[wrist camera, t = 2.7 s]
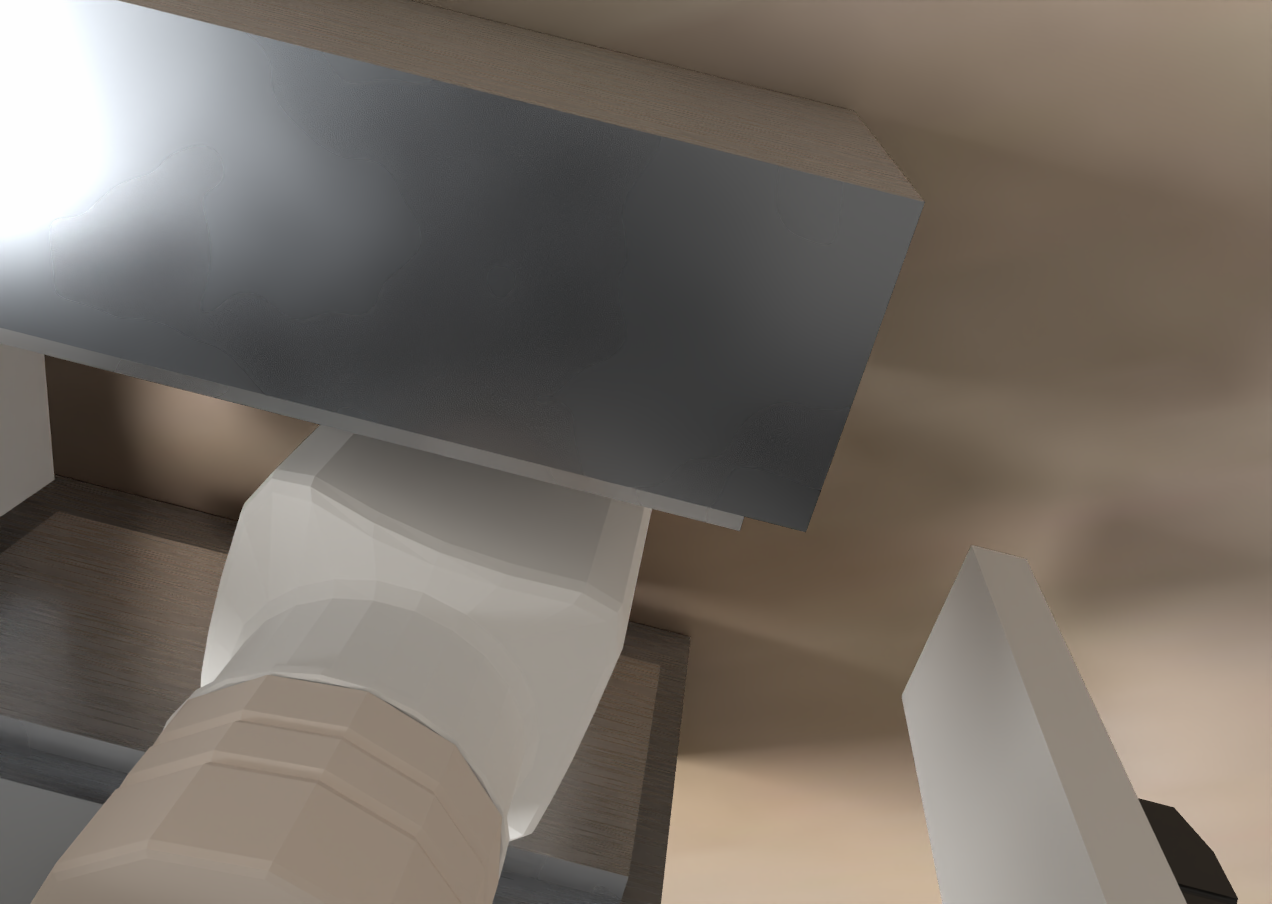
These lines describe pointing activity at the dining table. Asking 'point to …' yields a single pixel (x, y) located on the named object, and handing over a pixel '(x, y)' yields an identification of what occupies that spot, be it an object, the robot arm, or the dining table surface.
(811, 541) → the dining table surface
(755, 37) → the dining table surface
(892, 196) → the vise
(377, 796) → the pepper shaker
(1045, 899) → the robot arm
